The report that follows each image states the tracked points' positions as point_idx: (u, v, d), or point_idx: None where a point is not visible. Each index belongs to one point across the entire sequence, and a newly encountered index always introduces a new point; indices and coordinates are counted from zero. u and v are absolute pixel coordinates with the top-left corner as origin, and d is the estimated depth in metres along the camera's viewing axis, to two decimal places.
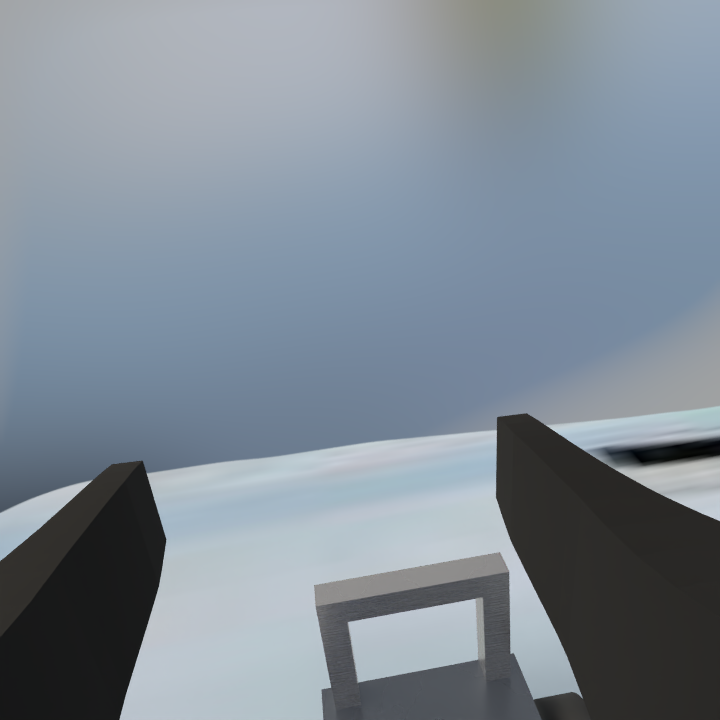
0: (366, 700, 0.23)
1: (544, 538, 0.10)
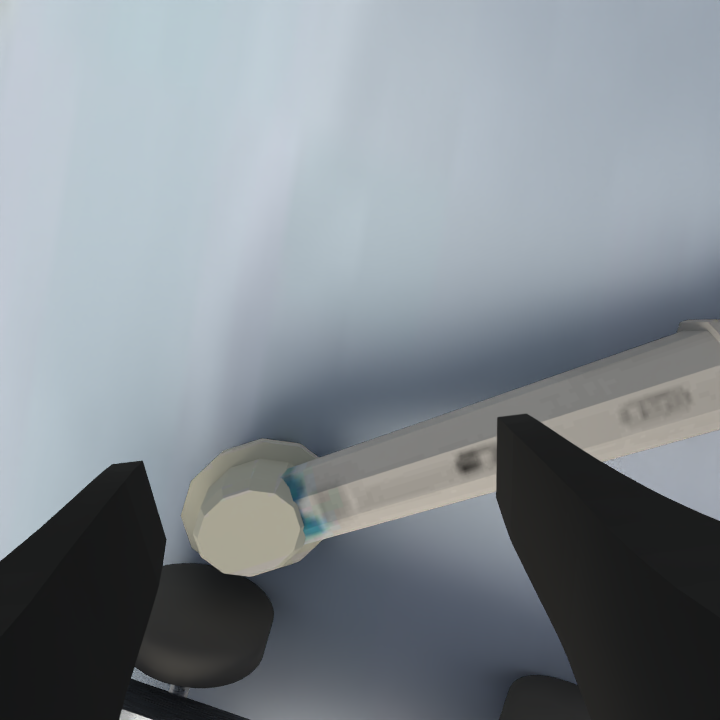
0: None
1: (544, 538, 0.10)
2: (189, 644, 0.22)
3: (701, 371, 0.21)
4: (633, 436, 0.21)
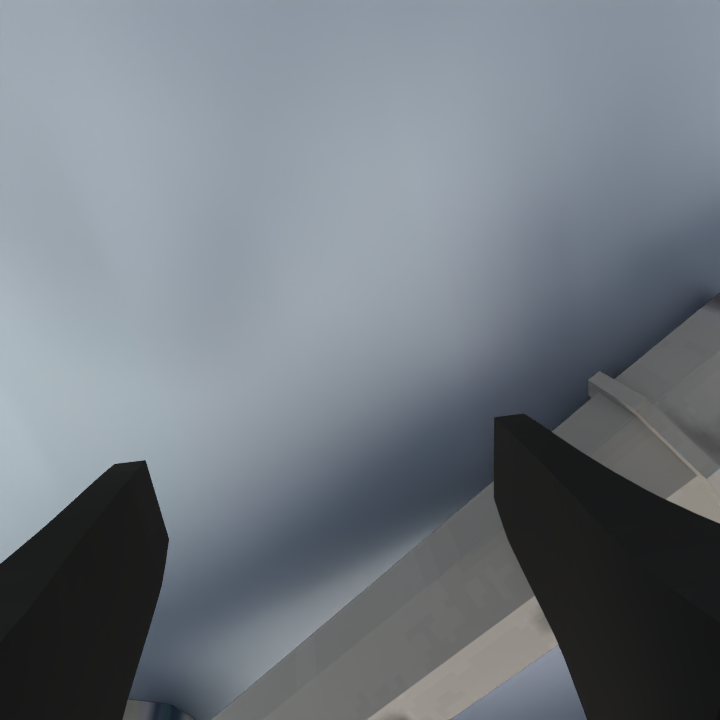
0: None
1: (541, 538, 0.10)
2: None
3: None
4: None
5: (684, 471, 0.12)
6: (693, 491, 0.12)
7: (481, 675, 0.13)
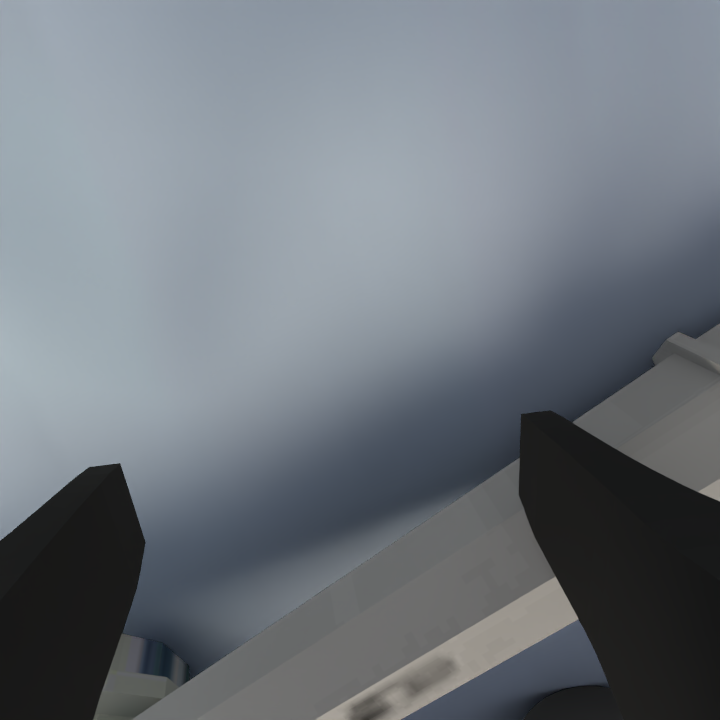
0: None
1: (572, 535, 0.10)
2: None
3: None
4: None
5: None
6: None
7: (535, 623, 0.12)
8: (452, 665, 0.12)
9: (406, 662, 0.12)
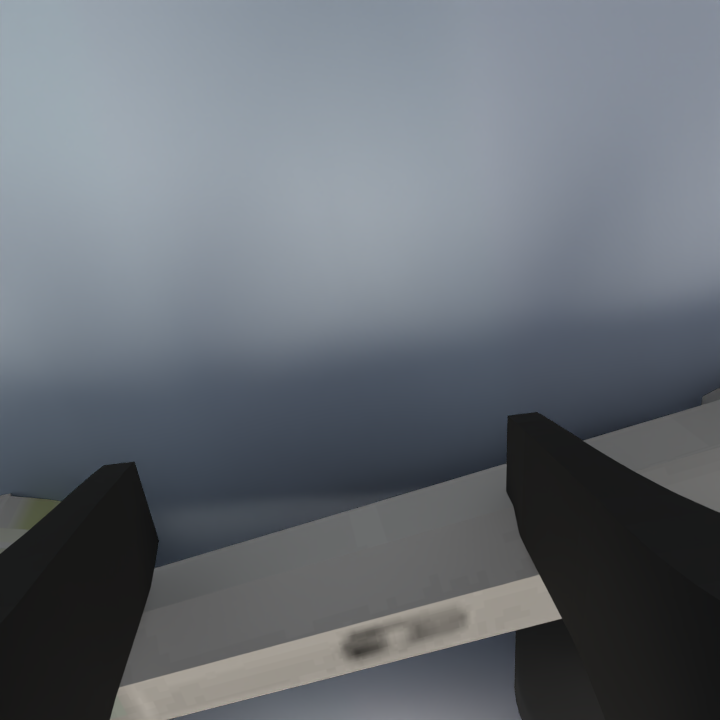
0: None
1: (556, 536, 0.10)
2: None
3: None
4: None
5: None
6: None
7: None
8: (463, 620, 0.12)
9: (425, 602, 0.12)
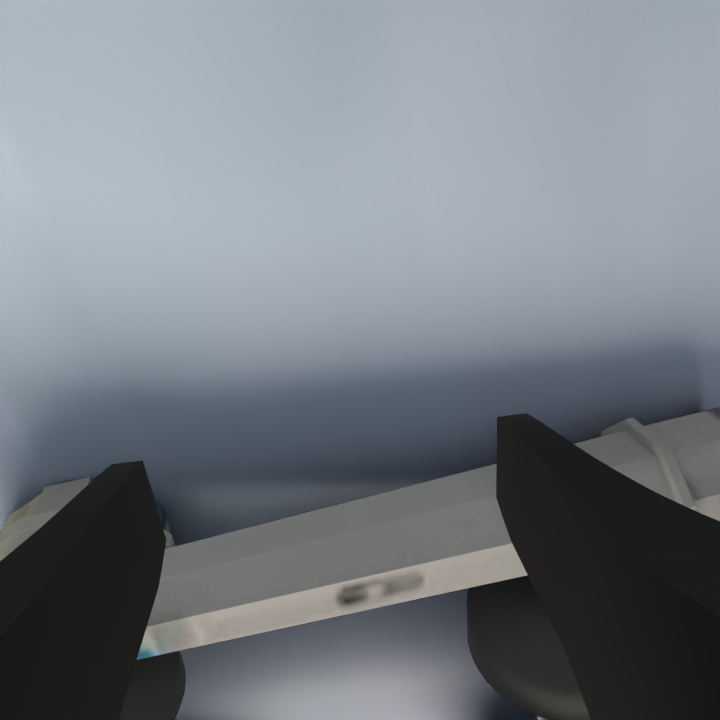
0: None
1: (544, 538, 0.10)
2: None
3: None
4: None
5: None
6: None
7: (485, 571, 0.18)
8: (421, 581, 0.17)
9: (395, 568, 0.17)
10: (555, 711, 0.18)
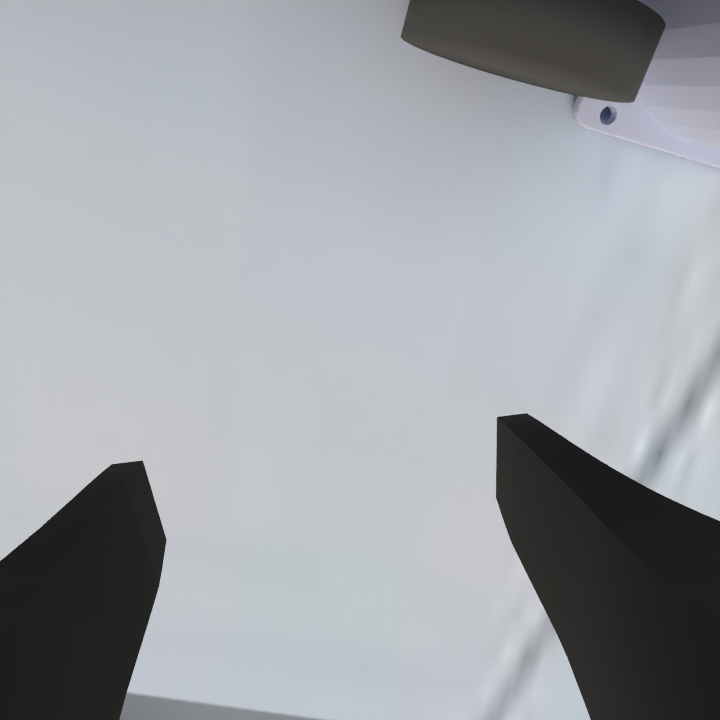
0: None
1: (544, 538, 0.10)
2: None
3: None
4: None
5: None
6: None
7: None
8: None
9: None
10: None
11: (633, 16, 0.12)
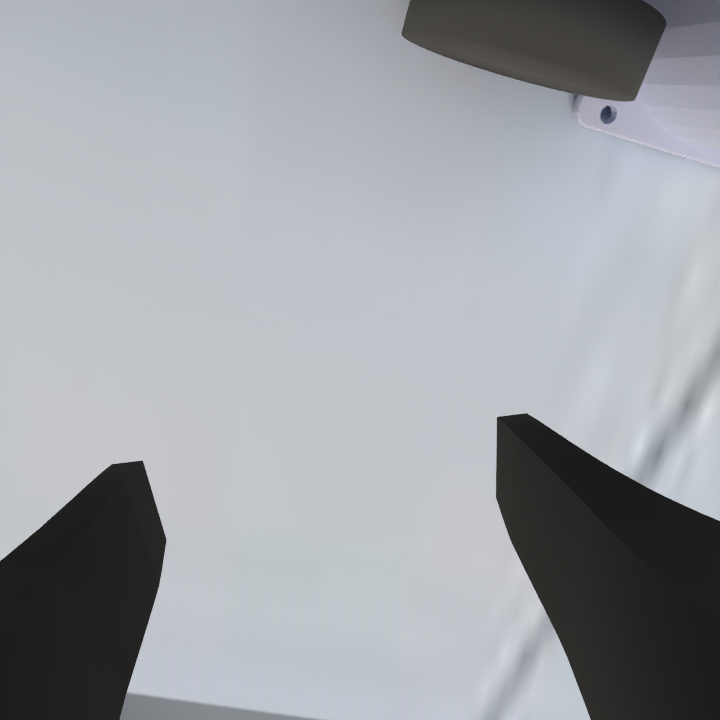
0: None
1: (544, 538, 0.10)
2: None
3: None
4: None
5: None
6: None
7: None
8: None
9: None
10: None
11: (634, 14, 0.12)
